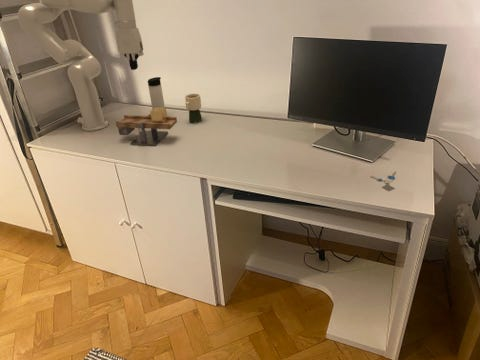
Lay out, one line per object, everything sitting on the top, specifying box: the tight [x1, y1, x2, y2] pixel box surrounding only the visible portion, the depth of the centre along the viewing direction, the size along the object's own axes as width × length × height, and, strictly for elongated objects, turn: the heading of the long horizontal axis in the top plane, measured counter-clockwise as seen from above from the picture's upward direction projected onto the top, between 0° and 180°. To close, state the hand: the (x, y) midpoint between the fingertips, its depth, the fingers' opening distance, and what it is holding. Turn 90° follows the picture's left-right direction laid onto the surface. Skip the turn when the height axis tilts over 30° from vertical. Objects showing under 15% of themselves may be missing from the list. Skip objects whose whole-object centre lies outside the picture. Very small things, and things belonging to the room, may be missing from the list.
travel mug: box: [147, 76, 166, 110], centre depth 186 cm, size 6×7×20 cm
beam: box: [115, 114, 178, 136], centre depth 163 cm, size 25×8×6 cm, turn 77°
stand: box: [129, 113, 169, 147], centre depth 164 cm, size 12×14×10 cm
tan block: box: [149, 107, 168, 123], centre depth 160 cm, size 5×5×6 cm
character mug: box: [184, 93, 203, 123], centre depth 179 cm, size 11×7×13 cm, turn 148°
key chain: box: [370, 170, 397, 192], centre depth 125 cm, size 14×8×1 cm, turn 158°
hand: (134, 69), depth 165 cm, fingers closed
